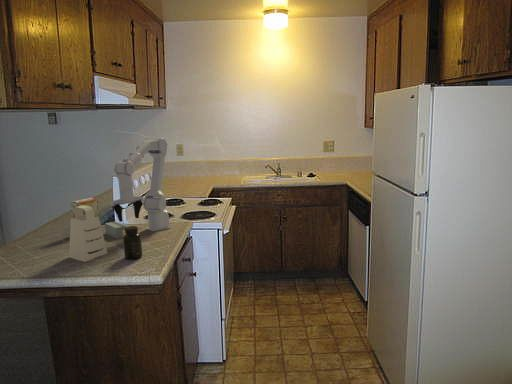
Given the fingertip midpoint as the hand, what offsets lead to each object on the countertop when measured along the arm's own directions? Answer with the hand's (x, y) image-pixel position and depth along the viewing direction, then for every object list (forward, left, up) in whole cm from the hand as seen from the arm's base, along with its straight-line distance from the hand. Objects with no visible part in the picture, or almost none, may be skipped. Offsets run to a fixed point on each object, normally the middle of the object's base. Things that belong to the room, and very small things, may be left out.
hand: (128, 219), depth 190 cm
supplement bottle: (+9, +22, -10) cm, 26 cm away
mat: (+1, -6, -10) cm, 11 cm away
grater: (+21, +7, -10) cm, 24 cm away
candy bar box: (+9, -26, -10) cm, 29 cm away
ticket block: (+1, -12, -9) cm, 15 cm away
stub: (+1, +4, -9) cm, 10 cm away
